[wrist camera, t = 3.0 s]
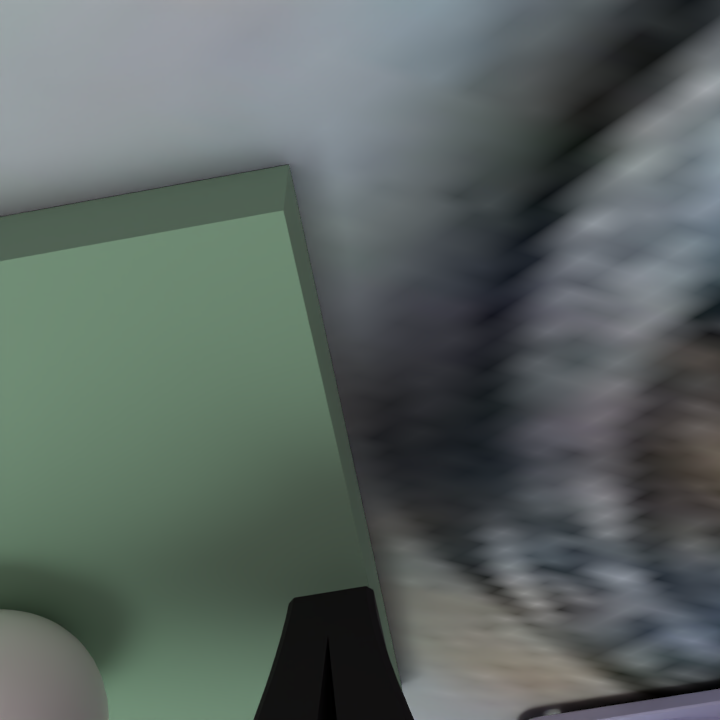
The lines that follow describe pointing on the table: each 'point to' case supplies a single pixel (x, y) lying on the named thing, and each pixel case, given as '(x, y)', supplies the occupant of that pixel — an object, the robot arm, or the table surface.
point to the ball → (46, 672)
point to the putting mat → (173, 439)
